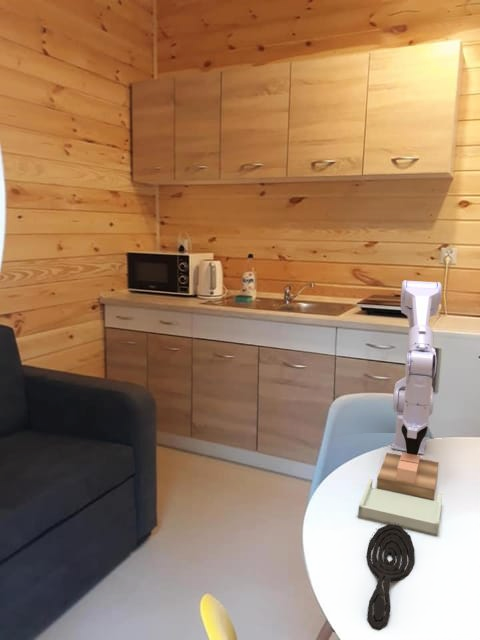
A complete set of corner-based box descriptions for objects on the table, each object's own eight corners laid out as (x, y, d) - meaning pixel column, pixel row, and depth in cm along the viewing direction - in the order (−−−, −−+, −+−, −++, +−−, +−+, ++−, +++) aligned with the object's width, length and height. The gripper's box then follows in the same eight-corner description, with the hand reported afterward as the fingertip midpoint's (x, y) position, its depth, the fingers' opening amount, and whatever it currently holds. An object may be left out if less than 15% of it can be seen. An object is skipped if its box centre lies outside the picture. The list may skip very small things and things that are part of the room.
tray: (369, 488, 121) (369, 478, 120) (441, 504, 115) (442, 493, 115) (357, 517, 110) (358, 506, 109) (437, 536, 104) (438, 524, 103)
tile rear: (401, 464, 127) (402, 452, 126) (418, 467, 125) (420, 455, 124) (398, 471, 123) (399, 459, 122) (417, 475, 121) (418, 463, 121)
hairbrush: (348, 608, 81) (373, 515, 104) (347, 628, 82) (372, 532, 105) (405, 624, 78) (418, 525, 101) (403, 645, 79) (417, 542, 102)
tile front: (398, 472, 123) (399, 460, 122) (417, 476, 121) (418, 463, 120) (396, 480, 119) (397, 467, 118) (415, 484, 117) (416, 471, 117)
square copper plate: (385, 463, 133) (386, 452, 133) (437, 474, 129) (438, 462, 128) (376, 490, 121) (377, 477, 120) (433, 502, 116) (434, 489, 115)
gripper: (403, 389, 134) (398, 440, 137) (395, 408, 121) (390, 464, 124) (433, 394, 132) (427, 446, 134) (428, 413, 119) (422, 471, 121)
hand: (412, 455), depth 129 cm, fingers closed
